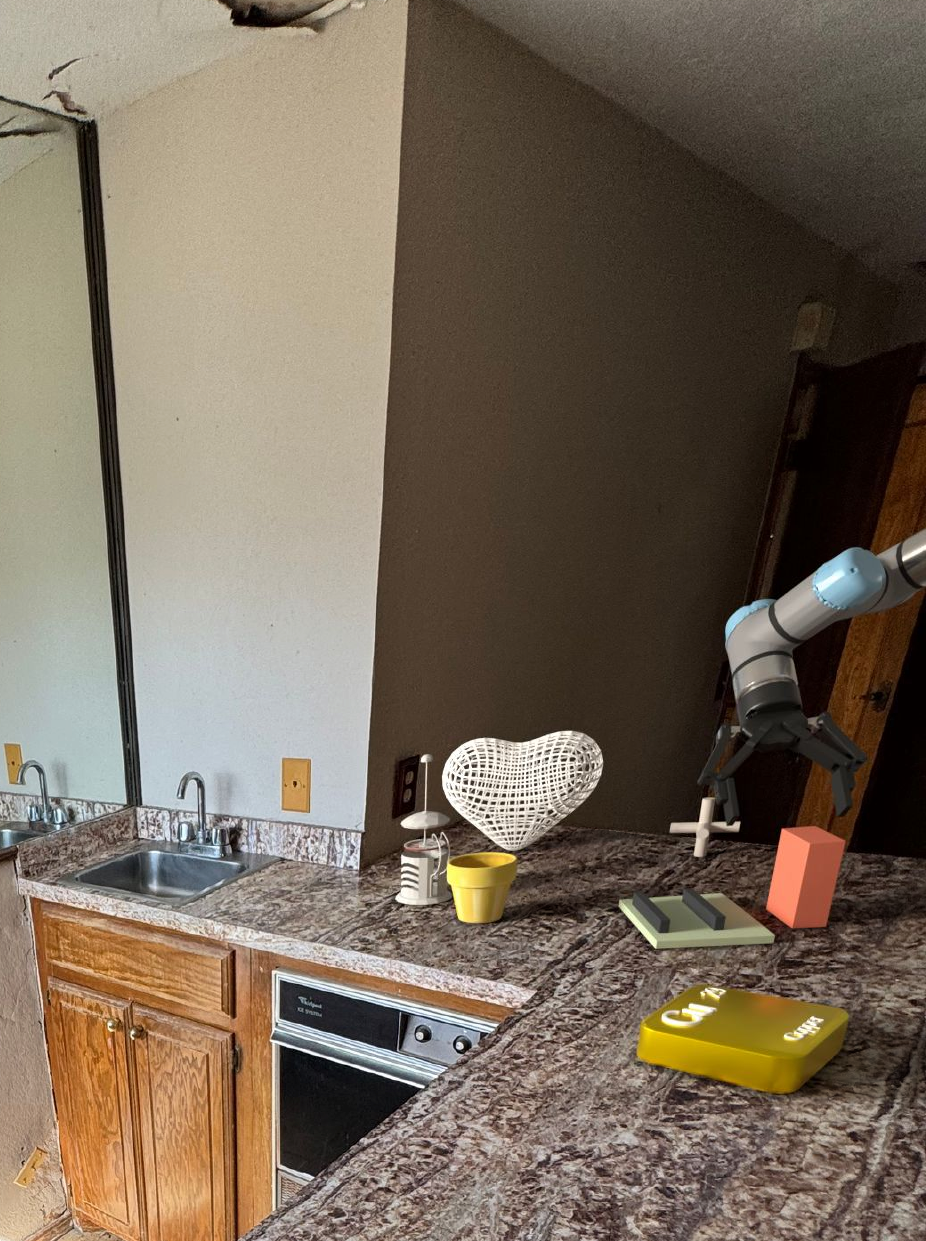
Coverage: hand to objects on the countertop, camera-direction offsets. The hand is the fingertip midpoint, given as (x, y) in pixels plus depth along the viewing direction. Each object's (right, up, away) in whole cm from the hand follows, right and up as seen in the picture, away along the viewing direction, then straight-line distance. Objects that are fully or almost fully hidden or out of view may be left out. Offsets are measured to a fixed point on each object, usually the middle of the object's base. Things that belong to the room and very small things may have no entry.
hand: (788, 816), depth 128 cm
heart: (-15, +7, +50) cm, 53 cm away
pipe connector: (+8, +1, +30) cm, 31 cm away
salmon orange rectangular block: (0, -15, -1) cm, 15 cm away
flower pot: (-37, -12, +18) cm, 43 cm away
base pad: (-13, -15, +3) cm, 20 cm away
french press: (-40, -6, +32) cm, 51 cm away
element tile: (-32, -35, -32) cm, 57 cm away
